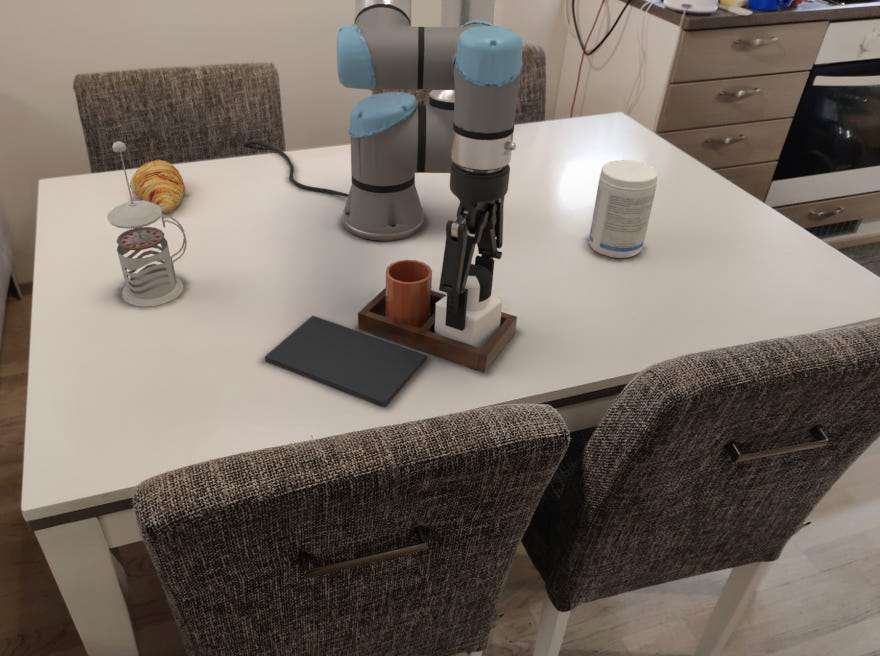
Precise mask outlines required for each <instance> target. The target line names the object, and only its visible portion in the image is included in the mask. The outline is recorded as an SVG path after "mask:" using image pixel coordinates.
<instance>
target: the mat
mask: <svg viewBox="0 0 880 656" xmlns="http://www.w3.org/2000/svg"><path fill="white" fill-rule="evenodd" d="M264 359H265V362H268V363H271V364H272V365H275V366H278V367H280V368H283V369H286V370H288V371H290V372H294V373H296V374H298V375H301V376H304V377H306V378H309V379H312V380H314V381H317V382H320V383H322V384H325V385H327V386H330V387H332V388H335V389H337V390H340V391H342V392H346V393H348V394H350V395H353V396H355V397H358V398H360V399H363V400H366V401H368V402H371V403H373V404H375V405H379V406H381V407H383V408H386V407H387V405H388V404H390V402H391V401H392V400H393V398H394V397H396V395H397V394H398V393H399V392H400V390H401V389H402V388H403V387H404V386H405V385H406V384H407V382H409V380H410V379H411V378H412V377H413V376H414V374H416V372H417V371H418V370H419V369H420V367H421V366H422V365H423V364H424V363H425V362H426V361H427V359H428V355H427V354H425V353H422V352H420V351H416V350H413V349H410V348H408V347H405V346H401V345H399V344H396V343H393V342H390V341H387V340H386V339H385V340H384V339H382V338H379V337H376V336H373V335H371V334H367V333H364V332H361V331H359V330H355V329H353V328H350V327H347V326H344V325H342V324H338V323H336V322H333V321H329V320H327V319H324V318H321V317H318V316H315V315H311V316H310V317H309V318H308V319H306V321H304V322H303V323H302V324H301V325H300V326H298V327H297V328H296V329H295V330H294V331H293V332H291V334H289V335H288V336H287V337H286V338H285V339H284V340H282V341H281V342H280V343H279V344H278V345H277V346H275V347H274V348H273V349H271V351H269V352H268V353H267V354H266V355H265V356H264Z"/></svg>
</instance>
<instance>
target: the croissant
mask: <svg viewBox="0 0 880 656" xmlns="http://www.w3.org/2000/svg"><path fill="white" fill-rule="evenodd" d="M185 185H186V184H185V183H184V178H183V177H182V174H181V173H180V171H179V170H178V168H177V167H176V166H175V165H173V164H172V163H170V162H169V161H166V160H162V159H160V158H158V159H155V160H154V159H153V160H151V161H146V162H144V164H143V165H142V164H141V166H139V167H138V168H137V170H135V172H134V174H133V175H132V177H131V179H130V182H129V187H130V191H132V192H131V193H133V194H134V195H135V196H137V197H138V199H139V200H140V201H142V200H144V201H147V202H151V203H154V204H156V205H159V206H160V207H161V209H162V213H171V212H172V211H174V210H175V209H176V208H177V207H178V206H179V205H180V204H181V201H182V200H183V198H184V195H185V193H186V186H185Z"/></svg>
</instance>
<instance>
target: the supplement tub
mask: <svg viewBox="0 0 880 656" xmlns="http://www.w3.org/2000/svg"><path fill="white" fill-rule="evenodd" d="M658 175H659V173H658V171H657V169H656V168H655V167H653V166H652V165H650V164H648V163H644V162H642V161H637V160H631V159H630V160H629V159H619V160H618V159H617V160H611V161H609V162H606V163H604V164H603V165H602V167H601V171H600V173H599V179H598V182H597V183H598V184H597V188H596V189H597V190H596V196H595V201H594V207H593V212H592V213H593V214H592V218H591V225H590V230H589V238H588V243H589V246H590V248H592V250H594V251H595V252H596V253H598V254H600V255H603V256H606V257H610V258H614V259H615V258H616V259H625V258H630V257H634V256H636V255H638V254H639V253H640V252H641V251H642V249H643V247H644V243H645V238H646V234H647V230H648V225H649V221H650V216H651V213H652V208H653V203H654V198H655V194H656V189H657V183H658Z"/></svg>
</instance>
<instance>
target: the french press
mask: <svg viewBox="0 0 880 656" xmlns="http://www.w3.org/2000/svg"><path fill="white" fill-rule="evenodd" d="M111 147H112V151H113V152H115V153H119V155H120V160H121V163H122V168H123V173H124V176H125V180H126V185H127V189H128V193H129V197H130V201H126V202H124V203H121V204H119V205H116V206H114V207H113V209H111V210H110V211H108V213H107V216H106V218H107V221H108V223H109V224H110V225H112V226H115V227H116V228H119V229H126V231H123V232H122V233H120V234H119V235H118V236H117V239H116V243H117V247H116V252H117V256H118V259H119V263H120V268H121V272H122V276H123V279H124V282H125V287H123V289H122V293H121V298H122V299H123V300H124V302H126V303H128V304H130V305H132V306H136V307H144V308H145V307H157V306H159V305H163V304H166V303H167V304H168V303H169V302H171V301H173V300H174V299H176V298H179V296H180V295H181V294H182V292H183V291H184V283H183V281H181V279H180V278H179V277H177V276H176V270H175V266H174V263H175V262H176V261H178V260H180V259H181V258H182V257H183V255H184V254H185V252H186V250H187V244H188V242H187V237H186V233H185V230H184V227H183V226H182V224H181V223H180V221H179V220H177V219H175V218H174V217H172V216H170V215H169V216H168V215H165V214H164V215H162V213H163V211H162V209H161V207H160V206H159V205H156V204H154V203H151V202H147V201H144V200H133V196H132V192H131V191H132V190H131V188H130V182H129V180H128V175H127V174H128V173H127V171H126V166H125V163H124V157H123V152H125V151H127V146H126V143H124V142H122V141H120V140H118V141H114V142H113V144H112V146H111ZM165 218H169V220H168V219H165ZM160 219H161V222H162V226H163V228H164V229H165V228H166V223H170V224H173V225H175V226H176V227H178V229H179V230H180V231H181V233H182V235H183V240H182V244H181V247H180V248H179V250H178V251H176V252H175V253H174V254H172V255H171V253H170V247H169V244H168V240H167V239H166V237H165V233H164V231H163V230H162V229H159V228H157V227H155V226H154V227H153V226H150V225H152V224H154V223H156V222H157V221H159V220H160ZM170 219H171V220H170ZM148 249H150V250H148ZM152 249H158V250H159V251H160V252H159V251H156V250H152ZM143 250H144V251H143ZM145 250H146V251H145ZM182 250H183V251H182ZM131 251H133V252H131ZM141 251H143V252H141ZM129 252H131V253H130V254H129V255H127V254H128V253H129ZM139 252H141V253H140V254H139ZM181 252H182V253H181ZM180 253H181V254H180ZM138 254H139V255H138ZM179 254H180V255H179ZM125 255H127V256H125ZM136 255H138V256H137V257H135V256H136ZM149 255H150V256H149ZM177 255H179V256H177ZM175 256H177V257H176V258H175ZM173 258H174V259H173ZM154 262H158V263H159V264H157V263H154ZM139 269H141V270H139ZM127 270H128V271H127ZM137 270H139V271H138V272H137Z"/></svg>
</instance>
